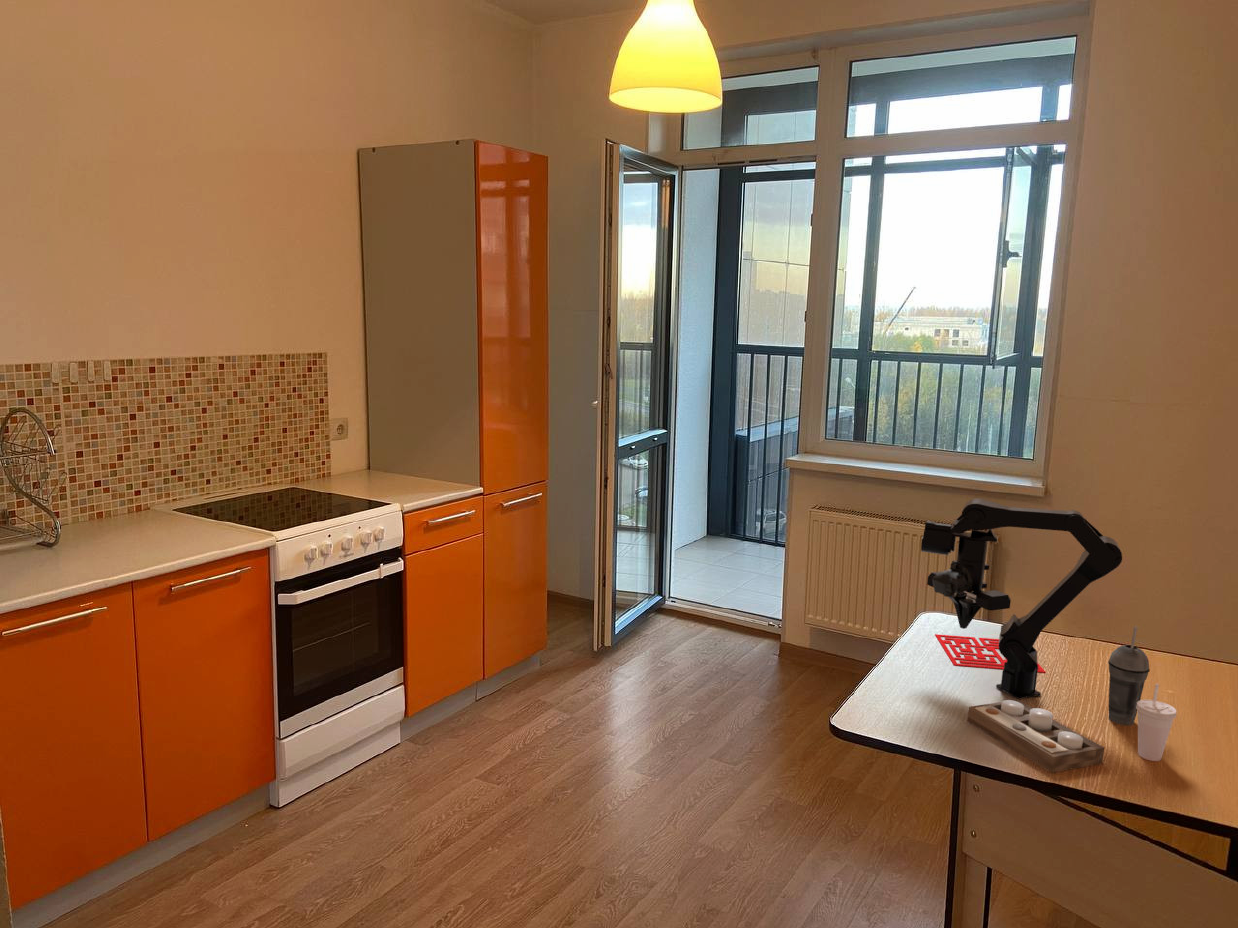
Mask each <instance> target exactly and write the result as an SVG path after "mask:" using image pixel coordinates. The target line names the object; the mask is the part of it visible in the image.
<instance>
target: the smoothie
mask: <svg viewBox="0 0 1238 928" xmlns="http://www.w3.org/2000/svg"><path fill="white" fill-rule="evenodd" d="M1159 686H1160V684H1159V683H1155V684H1154V692H1153V698H1152V699H1140V701H1138V702H1137V706H1136V708H1137V710H1138V711H1137V754H1138V756H1139V757H1141V758H1142V759H1145V760H1148V761H1153V762H1160V761H1161V760H1162V758H1163V754H1164V751H1165V748H1166V744H1167V741H1168V738H1169V735H1170V732H1171V728H1172V725H1173V721H1174V719H1176V718H1177V711H1178V710H1177V709H1176V708H1175V707H1174V706H1173V705H1172V706H1171V704H1168V703H1165V702H1163V701H1159V700H1158V695H1159V688H1160V687H1159Z"/></svg>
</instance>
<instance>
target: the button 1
mask: <svg viewBox="0 0 1238 928" xmlns="http://www.w3.org/2000/svg"><path fill="white" fill-rule="evenodd" d="M1012 700H1013V699H1012ZM1012 700H1011V699H1006V700H1005V699H1003V700H1002V701H1001V702H1002V705H1001V711H1003V712H1004V713H1006V714H1008V715H1010V716H1011V717H1013V716H1020V715H1023V710H1024V705H1023V704H1021V703H1019V702H1017V701H1012Z"/></svg>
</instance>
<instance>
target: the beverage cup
mask: <svg viewBox="0 0 1238 928" xmlns="http://www.w3.org/2000/svg"><path fill="white" fill-rule="evenodd" d="M1137 629H1138V626H1136V625H1134V627H1133V633H1132V639H1131V644H1124V645H1120V646H1118V647H1117V648H1115V649H1114V650H1113V651H1112V653H1111V654H1110V656H1109V659H1108V661H1107V664H1108V673H1109V684H1108V685H1109V686H1108V720H1109V721H1111V722H1112V723H1115V724H1118V725H1123V726H1132V725H1134V724H1135V720H1136V717H1137V716H1138V710H1137V708H1136V706H1137V702H1138V701H1140V700H1142V699H1141V697H1142V694H1143V690H1144V687H1145V683H1146V680H1147V678H1148V676H1149V672H1151V671H1150V661H1149V657H1148V656H1147V654H1146V652H1144V650H1143V649H1141V648H1139V647H1138V646H1135V643H1136V636H1137Z"/></svg>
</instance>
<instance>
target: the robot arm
mask: <svg viewBox="0 0 1238 928" xmlns="http://www.w3.org/2000/svg"><path fill="white" fill-rule="evenodd" d="M1001 528H1021V529H1032V530H1033V529H1035V530H1047V531H1060V532H1061V531H1062V532H1069V533H1070V534H1071V535H1072V536H1073V537H1074V538H1075V540H1076V541H1077V542H1078V543H1079V544H1080V545H1081V547H1083V549H1084V550H1083V552H1082V553H1081V554H1080V557H1079V559H1078V560H1077V562H1076V564H1075V566H1074V567H1073V569H1072V570H1070V572H1068V573H1067V574H1066V575H1065V576H1064V578H1063V579H1061V580H1060V581H1059V582H1058V583H1057V584H1056V585H1055V586H1054V587H1053V588H1052V589H1051V590H1050V591H1049V592H1048V593H1047V594H1046V595H1045V597H1044V598H1042V599H1041V600H1040V601H1039V602H1038V603H1037V604H1036V605H1035V606H1034V607H1033V608H1032V609H1031V610H1030V611H1029V612H1028V613H1027V614H1025V615H1023V616H1021V617H1020V618H1019V617H1018V616H1017V615H1016V614H1012V615H1011V616H1010V618H1009V620H1008V621H1007V622H1006V623H1005V624H1001V626H1000V632H999V637H998V639H999V641H998V642H999V649H998V651H999V652H1000V653H999V654H1001V656H1003V658H1004V659H1005V658H1007V662H1005V664H1004V670H1002V674H1001V680H1000V683H997V684H995V685H996V686H995V687H996V688H997V689H998V690H999V689H1000V690H1001V691H1003V692H1004V693H1006V694H1008V695H1011V696H1012V697H1014V698H1015V699H1026V698H1033V697H1038V696H1039V697H1041V695H1042V693H1041V691H1038V690H1036V687H1037V679H1038V664H1039V663H1038V650H1037V649H1036V648H1035V647H1034V645H1035V643H1036V641H1037V639H1038V638H1039V636H1040V634H1041V632H1042V631H1043V630H1044V629H1045V628H1046V627H1047V626H1048V625H1049V624H1050V623H1051V622H1052V621H1053V620H1054V619H1055V618H1056V617H1057V616H1058V615H1060V613H1062V611H1063V610H1064V609H1065V608H1066V607H1067V606H1069V604H1071V602H1073V600H1074V599H1075V598H1077V596H1078V595H1079V594H1081V593H1082V592H1084V590H1085V589H1086V588H1087V587H1088V586H1089V585H1090V584H1091V583H1094V582H1095V581H1097V580H1099V579H1101V578H1104V577H1105V576H1107V575H1108V574H1109V573H1111V572H1113V571H1114V570H1115V569H1117V568H1118V567H1119V566H1120V565H1121V564H1122V562H1123V553H1122V551H1121V549H1120V546H1119V544H1118V542H1117V541H1116V540H1115V539H1114V538H1113V537H1110V536H1105V535H1103V533H1101V532H1100V531H1099V529H1097V528H1096V527H1094V525H1092V523H1090V522H1089V521H1088V520H1087V519H1086V518H1085V516H1084V515H1083V514H1082V513H1081V512H1080V511H1078V510H1075V509H1073V510H1072V509H1071V510H1057V509H1045V508H1044V509H1042V508H1029V507H1028V508H1026V507H1015V506H1013V507H1012V506H1007V505H1003V504H1001V503H998V502H995V501H994V502H993V501H990V500H985V499H981V498H972V499H970V500H969V501H967V502H966V503H965V505H963V508H962V511H961V515H959V516H958V517H957V518H956V519H954V521H953V522H952V524H949V523H941V522H935V521H933V520H926V521H925V524H924V530H923V535H922V537H921V543H920V544H921V545H920V546H921V547H920V552H923V553H930V554H937V555H944V556H949V555H950V554H951V553H952V552H955V548H956V542H957V538H958V545H957V555H956V560H952V561H951V563H950V567H949V569H946V570H944V571H943V570H942V571H933V572H932V571H931V573H929V575H927V582H926V585H928V586H930V587H931V588H933V590H934V592H935V593H936V594H938V593H939V594H941V595H943V596H944V597H948V599H950V601H951V602H952V603H953V606H954V608H955V612H956V613H955V614H956V616H957V620H958V624H959V627H960V628H961V629H967V628H968V627H969V625H970V624H971V622H972V621H973V619H974V617H975V616H976V615H977V613H978V612H980V610H981V609H984V610H986V611H991V612H992V611H998V610H999V611H1000V610H1007V609H1011V602H1012V600H1011V597H1010V595H1009V594H1007V593H1004V592H1002V591H999V590H997V589H996V590H995V589H993V590H987V591H986V590H984V589H987V588H988V583H986V582H984V575H985V571H989V570H990V565H989V564H988V563H986V562H987V561H986V559H987V552H988V551H987V550H988V543H989V542H992V543H997V542H998V540H999V537H998V535H997V534H996V533H995V532H994V531H993V530H995V529H1001ZM970 530H971V532H969V531H970ZM982 589H983V590H982Z"/></svg>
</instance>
